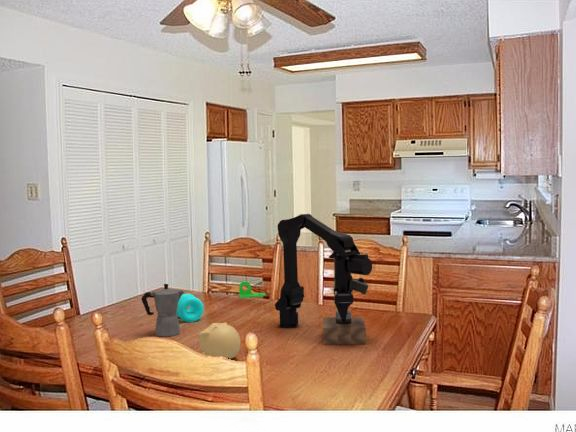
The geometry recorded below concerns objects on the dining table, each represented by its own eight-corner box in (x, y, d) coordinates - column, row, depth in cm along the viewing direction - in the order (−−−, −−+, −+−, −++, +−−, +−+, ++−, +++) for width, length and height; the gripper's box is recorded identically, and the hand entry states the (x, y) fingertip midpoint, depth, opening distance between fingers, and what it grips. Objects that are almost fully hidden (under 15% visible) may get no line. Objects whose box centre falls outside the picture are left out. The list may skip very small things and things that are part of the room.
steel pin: (336, 339, 185) (335, 314, 184) (335, 334, 190) (335, 310, 190) (352, 338, 185) (351, 313, 184) (351, 334, 190) (351, 310, 189)
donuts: (197, 316, 224) (196, 291, 223) (204, 321, 215) (204, 296, 214) (173, 319, 220) (172, 294, 219) (179, 324, 211) (178, 298, 210)
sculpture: (216, 350, 177) (215, 317, 177) (247, 355, 171) (246, 321, 170) (193, 360, 167) (192, 325, 167) (225, 366, 161) (224, 329, 161)
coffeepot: (182, 327, 206) (180, 280, 205) (189, 333, 197) (187, 284, 196) (140, 333, 199) (138, 284, 198) (145, 340, 191) (143, 288, 190)
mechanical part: (240, 300, 253) (239, 283, 252) (239, 298, 259) (238, 281, 258) (266, 299, 255) (265, 282, 254) (264, 296, 261) (264, 280, 260)
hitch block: (323, 344, 181) (322, 327, 181) (323, 332, 195) (322, 317, 195) (366, 344, 180) (365, 327, 180) (363, 332, 194) (362, 317, 194)
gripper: (368, 276, 176) (369, 324, 177) (364, 267, 195) (365, 311, 196) (334, 277, 177) (334, 325, 178) (333, 268, 196) (333, 311, 196)
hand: (343, 317), depth 187 cm, fingers open, 9 cm apart
